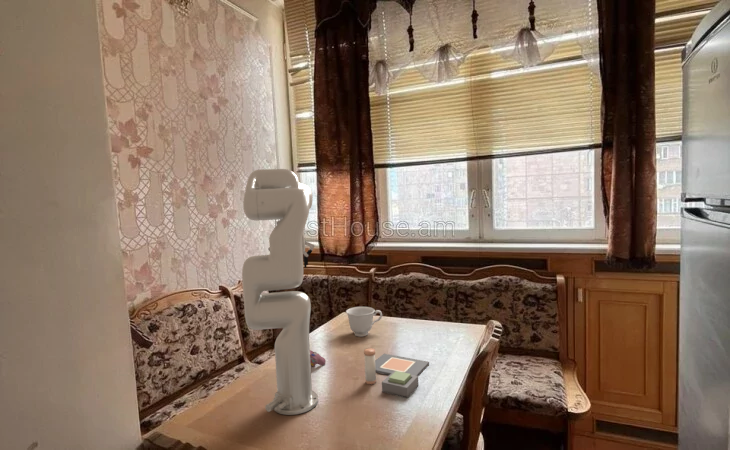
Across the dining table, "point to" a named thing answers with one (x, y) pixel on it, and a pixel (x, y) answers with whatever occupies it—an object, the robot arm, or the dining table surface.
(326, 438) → the dining table surface
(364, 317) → the teacup
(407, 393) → the button housing
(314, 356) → the video game controller
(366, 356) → the marker
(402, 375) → the button
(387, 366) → the picture board
